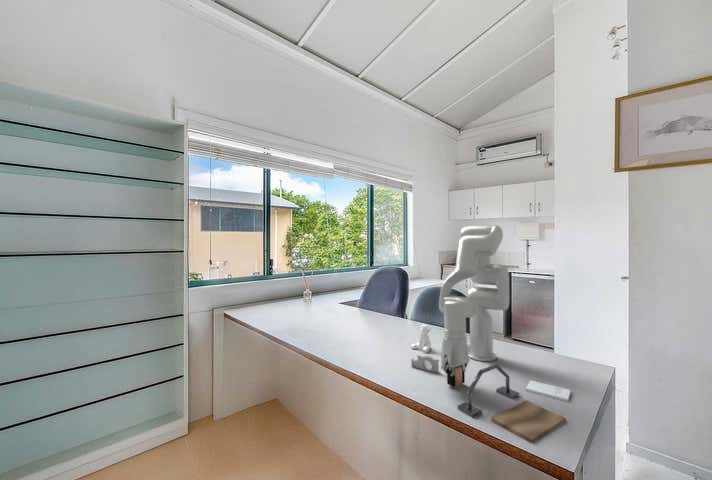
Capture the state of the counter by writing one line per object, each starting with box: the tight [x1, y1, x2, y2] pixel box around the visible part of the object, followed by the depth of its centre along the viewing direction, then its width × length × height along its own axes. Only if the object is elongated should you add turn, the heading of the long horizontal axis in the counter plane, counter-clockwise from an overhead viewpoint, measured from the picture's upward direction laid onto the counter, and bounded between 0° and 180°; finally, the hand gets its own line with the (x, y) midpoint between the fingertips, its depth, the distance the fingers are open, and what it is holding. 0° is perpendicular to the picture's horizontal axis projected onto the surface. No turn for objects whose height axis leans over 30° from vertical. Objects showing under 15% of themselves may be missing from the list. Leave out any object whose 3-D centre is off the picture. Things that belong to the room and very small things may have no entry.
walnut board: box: [490, 400, 567, 444], centre depth 93 cm, size 12×18×1 cm, turn 121°
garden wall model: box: [410, 354, 440, 373], centre depth 131 cm, size 12×2×6 cm, turn 55°
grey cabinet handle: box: [457, 363, 520, 418], centre depth 104 cm, size 6×24×12 cm, turn 121°
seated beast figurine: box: [410, 324, 432, 354], centre depth 154 cm, size 10×9×12 cm
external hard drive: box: [525, 380, 572, 403], centre depth 110 cm, size 2×8×12 cm
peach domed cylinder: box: [449, 366, 463, 389], centre depth 116 cm, size 4×4×7 cm
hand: (456, 383), depth 116 cm, fingers closed on peach domed cylinder, 4 cm apart
